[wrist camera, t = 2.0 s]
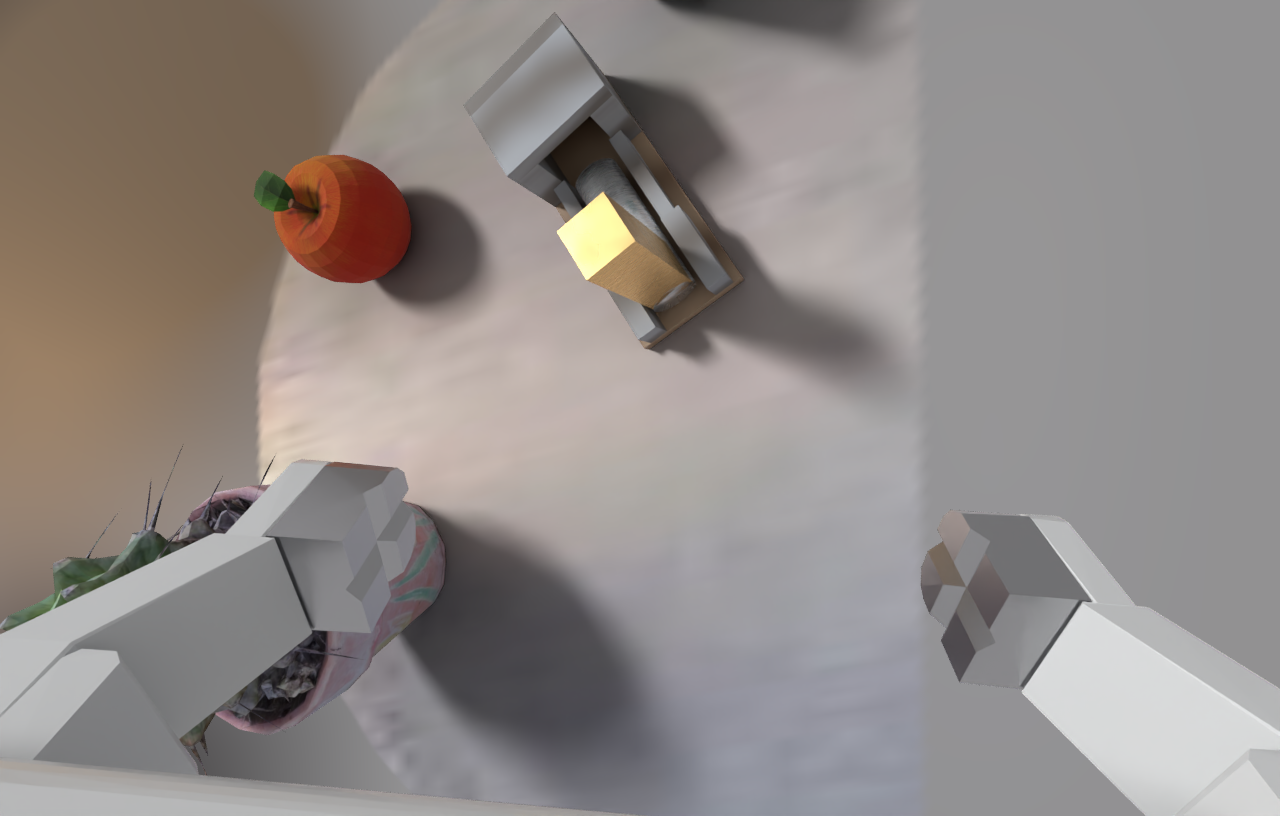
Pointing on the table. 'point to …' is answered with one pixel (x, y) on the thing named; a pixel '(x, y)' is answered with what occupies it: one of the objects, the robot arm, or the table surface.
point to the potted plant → (311, 665)
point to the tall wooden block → (623, 241)
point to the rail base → (593, 160)
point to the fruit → (338, 217)
